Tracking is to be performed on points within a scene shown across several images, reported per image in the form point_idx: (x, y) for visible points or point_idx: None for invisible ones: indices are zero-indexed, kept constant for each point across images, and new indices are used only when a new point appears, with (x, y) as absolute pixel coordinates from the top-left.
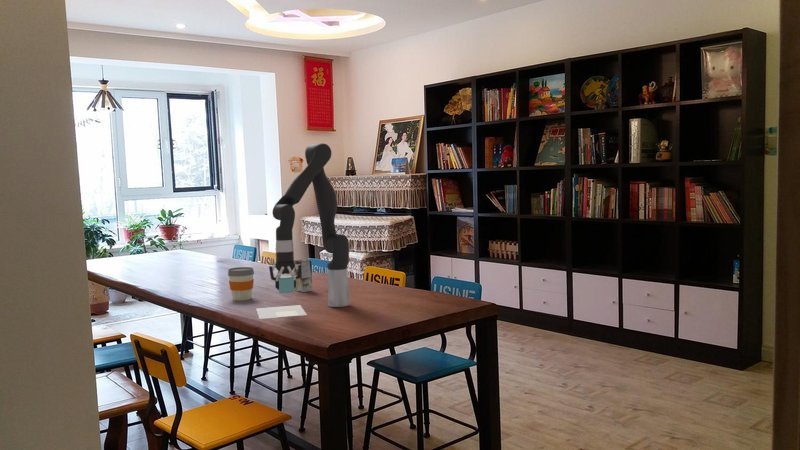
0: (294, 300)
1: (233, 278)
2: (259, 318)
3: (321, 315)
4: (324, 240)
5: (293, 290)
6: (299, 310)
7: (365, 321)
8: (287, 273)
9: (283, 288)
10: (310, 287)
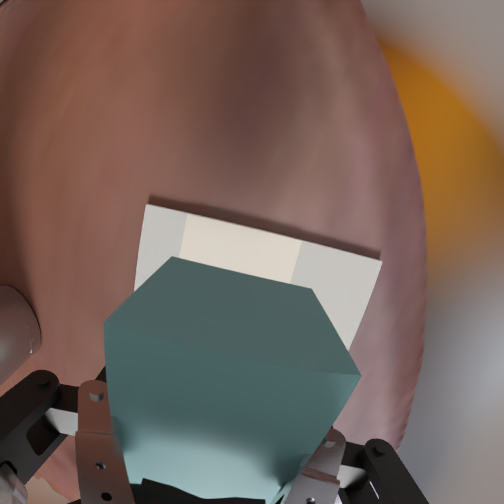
0: None
1: None
2: (378, 271)
3: (90, 183)
4: None
5: (172, 264)
6: None
7: (42, 27)
8: (172, 491)
9: (281, 300)
10: None
